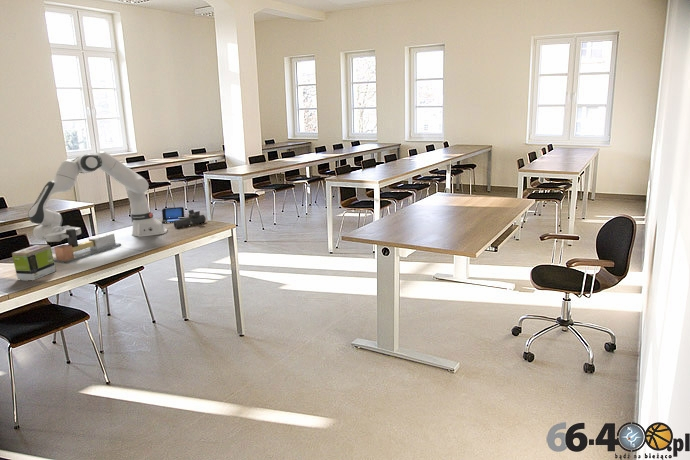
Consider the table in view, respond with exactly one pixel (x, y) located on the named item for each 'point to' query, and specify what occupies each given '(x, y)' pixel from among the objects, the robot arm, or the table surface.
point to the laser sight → (190, 219)
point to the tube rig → (101, 244)
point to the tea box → (33, 262)
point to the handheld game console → (172, 214)
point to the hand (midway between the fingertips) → (72, 235)
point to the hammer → (74, 243)
